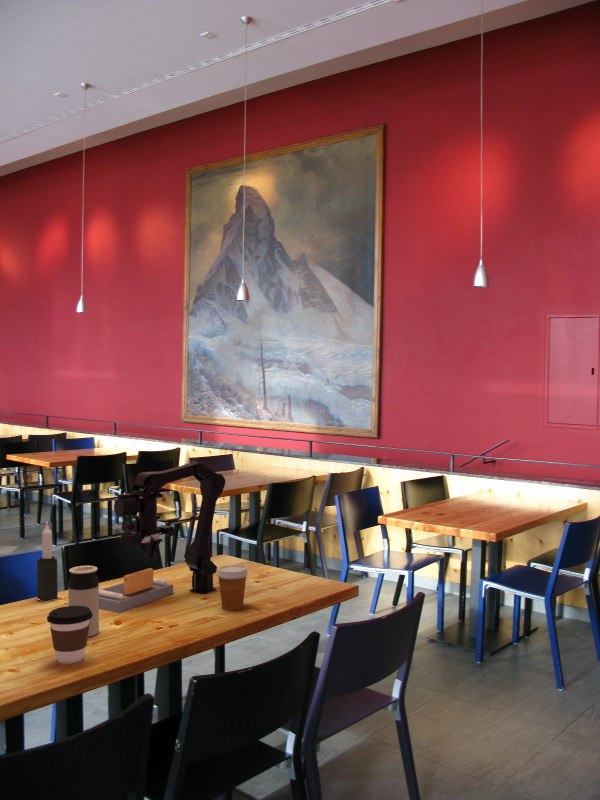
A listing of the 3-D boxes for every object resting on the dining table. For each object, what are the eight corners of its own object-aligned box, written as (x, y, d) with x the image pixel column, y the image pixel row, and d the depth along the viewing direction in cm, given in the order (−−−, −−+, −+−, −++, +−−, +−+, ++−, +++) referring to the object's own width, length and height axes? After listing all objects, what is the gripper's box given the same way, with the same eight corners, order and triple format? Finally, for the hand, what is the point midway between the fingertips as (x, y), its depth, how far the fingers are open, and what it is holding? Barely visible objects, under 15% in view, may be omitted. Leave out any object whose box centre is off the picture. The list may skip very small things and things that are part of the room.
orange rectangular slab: (153, 586, 239) (153, 568, 239) (128, 594, 230) (128, 575, 229) (148, 585, 240) (148, 567, 240) (123, 593, 231) (123, 574, 231)
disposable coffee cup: (210, 609, 226) (210, 570, 225) (228, 601, 234) (227, 563, 234) (237, 613, 221) (237, 573, 221) (253, 605, 230) (253, 567, 229)
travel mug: (104, 633, 203) (103, 568, 203) (77, 640, 198) (76, 573, 198) (89, 627, 209) (89, 563, 209) (63, 633, 204) (63, 568, 203)
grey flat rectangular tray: (173, 593, 243) (173, 579, 243) (119, 612, 223) (119, 596, 223) (137, 586, 252) (137, 572, 251) (82, 604, 231) (82, 589, 231)
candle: (45, 602, 233) (44, 523, 233) (35, 599, 236) (35, 521, 236) (59, 598, 237) (58, 521, 237) (49, 596, 241) (49, 519, 240)
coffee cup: (55, 670, 177) (54, 621, 177) (41, 657, 186) (41, 610, 185) (99, 660, 183) (99, 612, 183) (84, 648, 192) (83, 602, 192)
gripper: (151, 506, 244) (151, 553, 245) (107, 515, 229) (108, 565, 229) (175, 509, 238) (176, 557, 238) (132, 518, 223) (133, 570, 223)
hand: (148, 562), depth 232 cm, fingers closed
